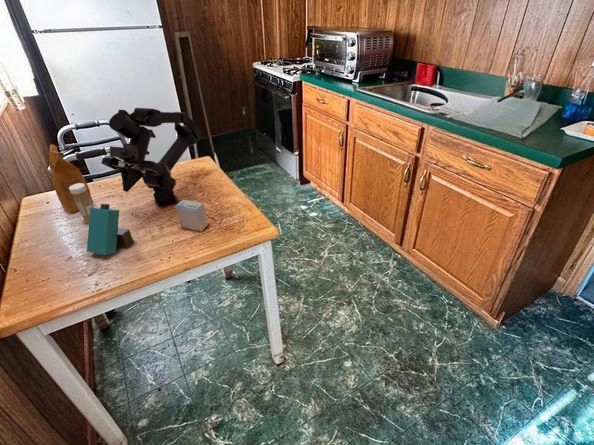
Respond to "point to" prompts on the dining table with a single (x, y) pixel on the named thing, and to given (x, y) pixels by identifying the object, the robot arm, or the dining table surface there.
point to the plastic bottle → (102, 230)
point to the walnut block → (124, 238)
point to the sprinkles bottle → (82, 200)
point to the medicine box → (192, 215)
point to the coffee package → (65, 179)
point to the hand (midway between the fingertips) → (125, 191)
